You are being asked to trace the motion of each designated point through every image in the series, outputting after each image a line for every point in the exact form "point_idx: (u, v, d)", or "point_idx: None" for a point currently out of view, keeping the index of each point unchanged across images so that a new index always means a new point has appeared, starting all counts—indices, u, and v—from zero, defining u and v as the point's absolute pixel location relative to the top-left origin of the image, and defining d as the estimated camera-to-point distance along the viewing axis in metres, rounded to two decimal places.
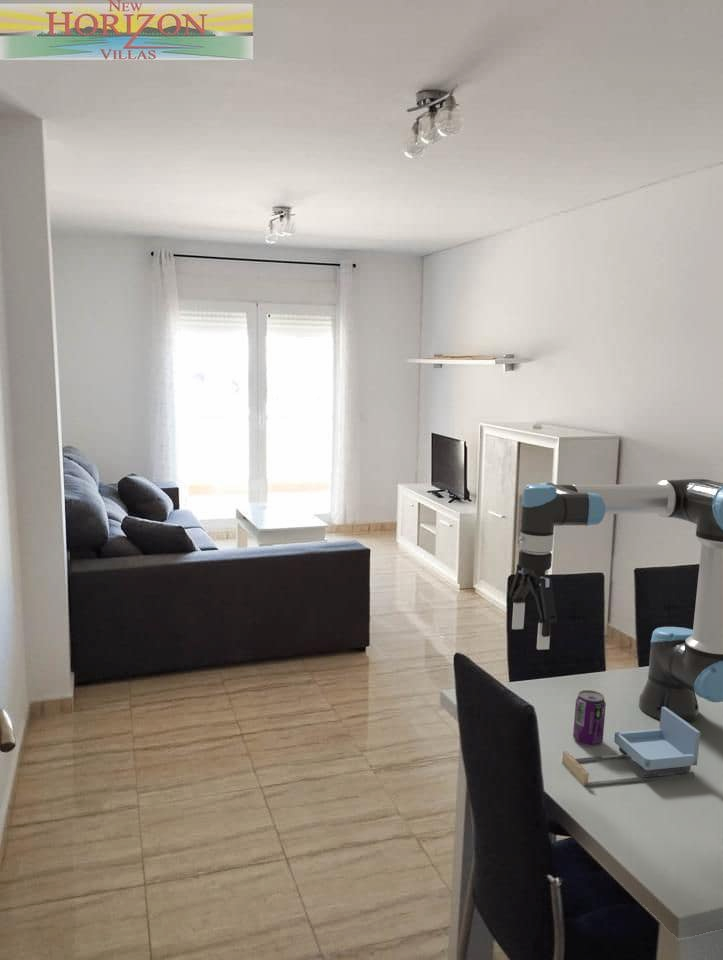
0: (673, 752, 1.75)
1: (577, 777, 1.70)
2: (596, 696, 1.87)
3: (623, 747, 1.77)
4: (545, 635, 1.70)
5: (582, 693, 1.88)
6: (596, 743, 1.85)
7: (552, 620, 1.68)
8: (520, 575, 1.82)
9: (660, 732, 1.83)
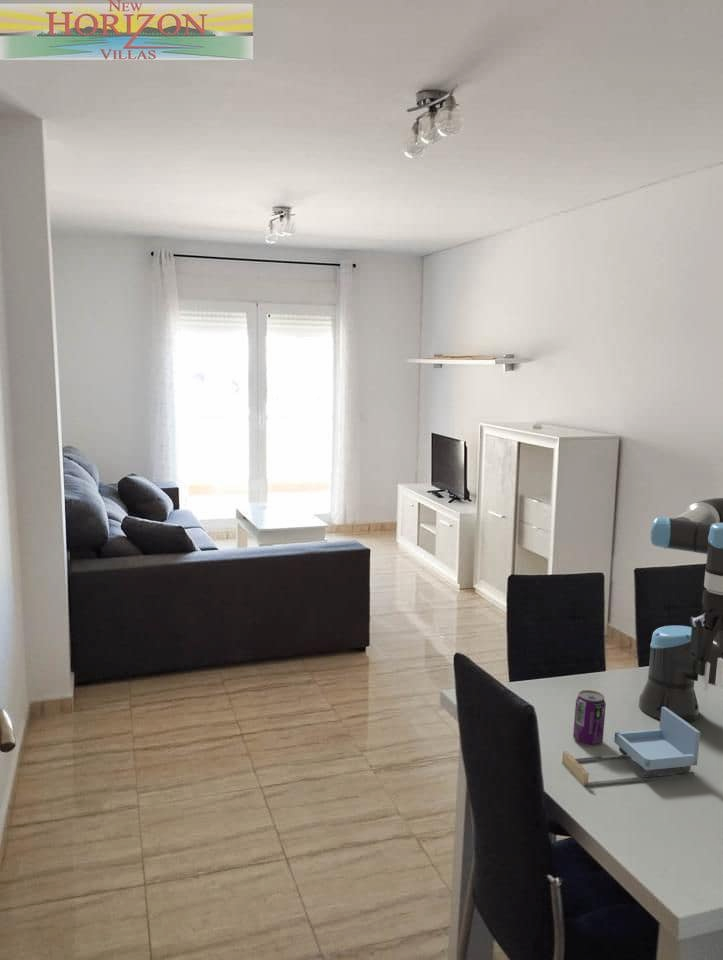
0: (673, 752, 1.75)
1: (577, 777, 1.70)
2: (596, 696, 1.87)
3: (623, 747, 1.77)
4: (697, 672, 1.76)
5: (582, 693, 1.88)
6: (596, 743, 1.85)
7: (693, 657, 1.75)
8: None
9: (660, 732, 1.83)
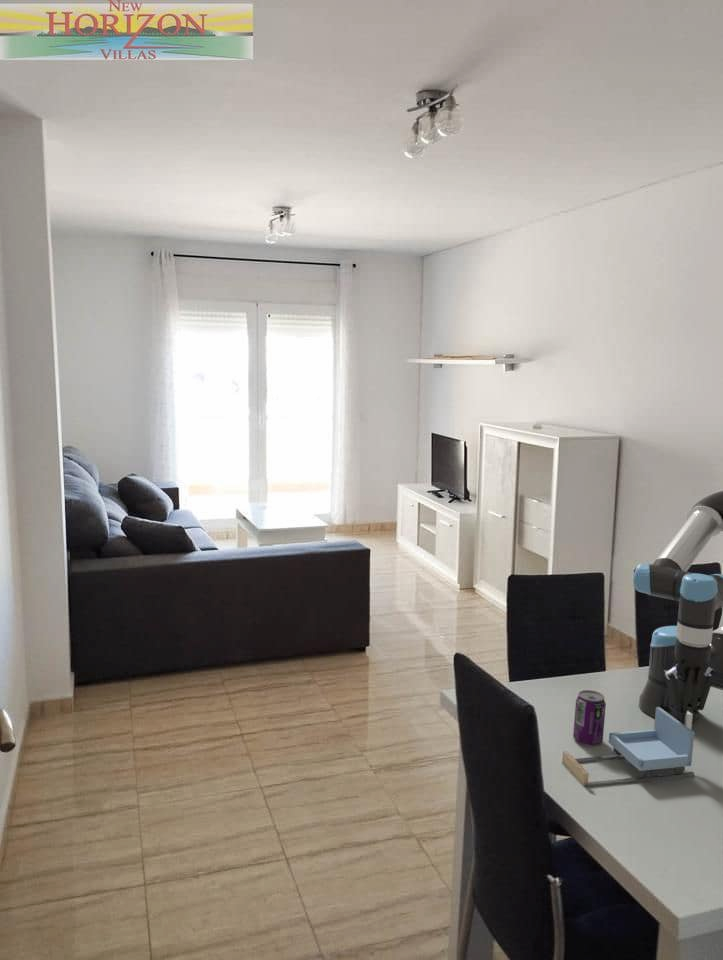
0: (667, 753, 1.75)
1: (577, 777, 1.70)
2: (596, 696, 1.87)
3: (617, 748, 1.77)
4: None
5: (582, 693, 1.88)
6: (596, 743, 1.85)
7: (673, 707, 1.75)
8: (703, 677, 1.77)
9: (654, 732, 1.82)
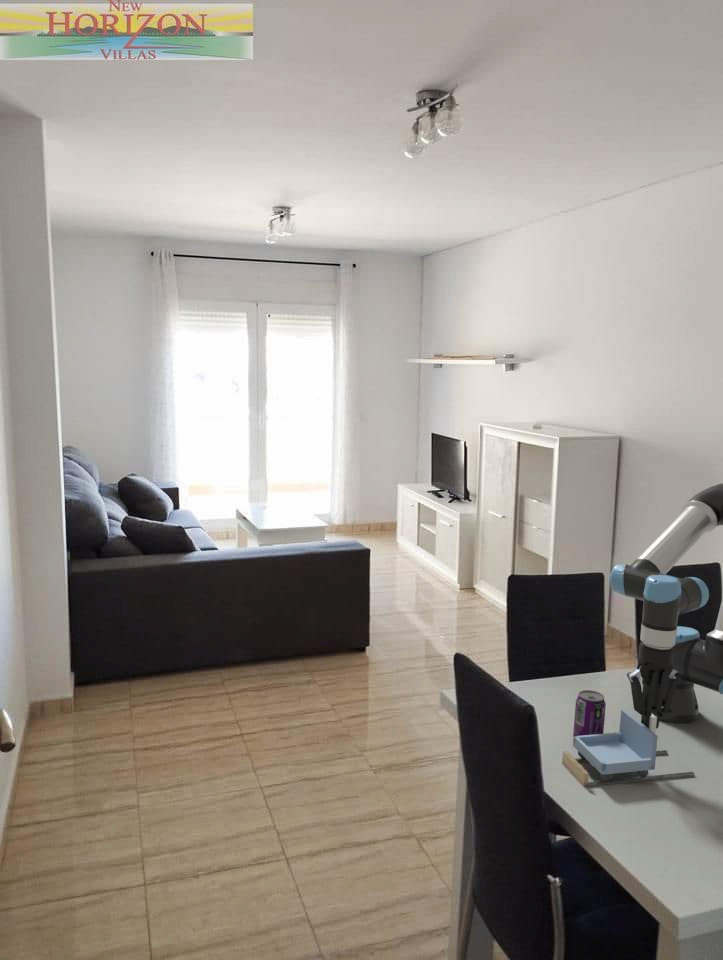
0: (631, 756, 1.73)
1: (577, 777, 1.70)
2: (596, 696, 1.87)
3: (581, 751, 1.75)
4: None
5: (582, 693, 1.88)
6: None
7: (637, 710, 1.73)
8: (668, 679, 1.75)
9: (620, 736, 1.80)
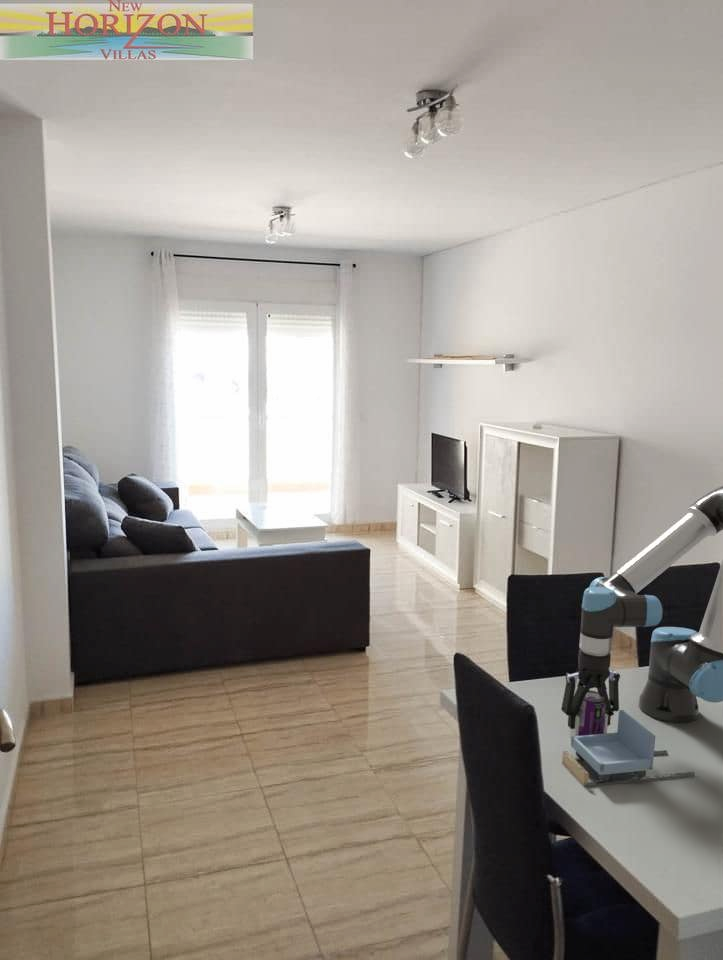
0: (629, 756, 1.73)
1: (577, 777, 1.70)
2: (596, 696, 1.87)
3: (579, 751, 1.75)
4: (568, 725, 1.87)
5: None
6: None
7: (564, 711, 1.85)
8: (610, 681, 1.88)
9: (618, 736, 1.80)
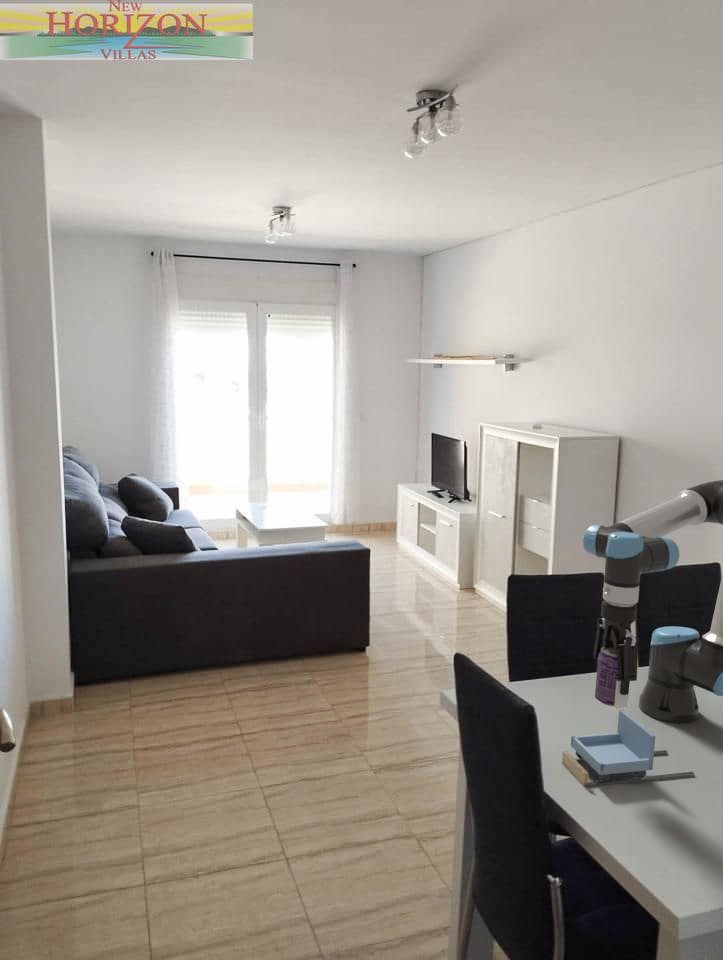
0: (629, 756, 1.73)
1: (577, 777, 1.70)
2: (613, 650, 1.72)
3: (579, 751, 1.75)
4: (624, 693, 1.66)
5: (611, 654, 1.69)
6: None
7: (632, 679, 1.64)
8: (602, 630, 1.75)
9: (618, 736, 1.80)
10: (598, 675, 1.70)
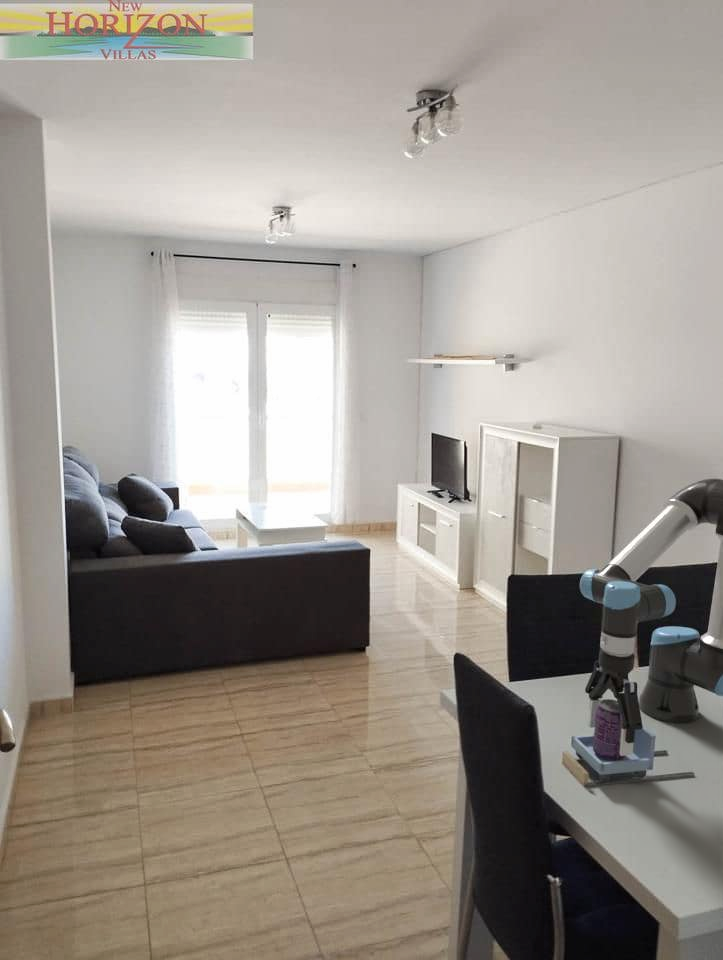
0: (629, 756, 1.73)
1: (577, 777, 1.70)
2: (610, 703, 1.73)
3: (579, 751, 1.75)
4: (629, 742, 1.65)
5: (609, 709, 1.70)
6: None
7: (638, 727, 1.62)
8: (598, 672, 1.77)
9: None
10: (596, 729, 1.72)
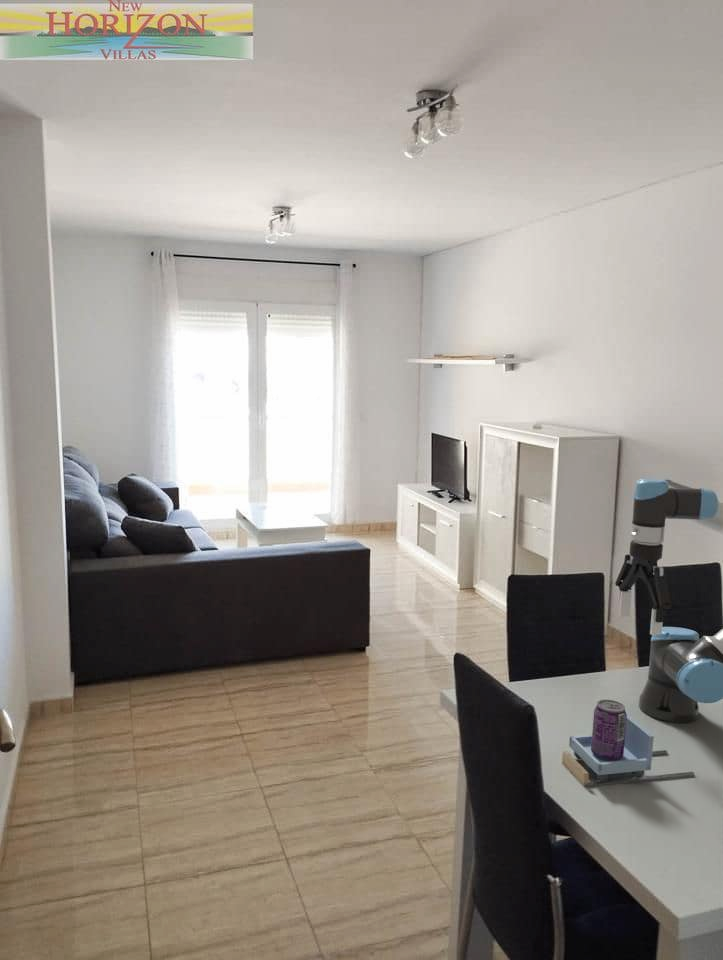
0: (627, 756, 1.73)
1: (577, 777, 1.70)
2: (608, 704, 1.73)
3: (577, 751, 1.75)
4: (659, 621, 1.80)
5: None
6: None
7: (667, 607, 1.78)
8: (628, 565, 1.93)
9: None
10: (594, 729, 1.72)
